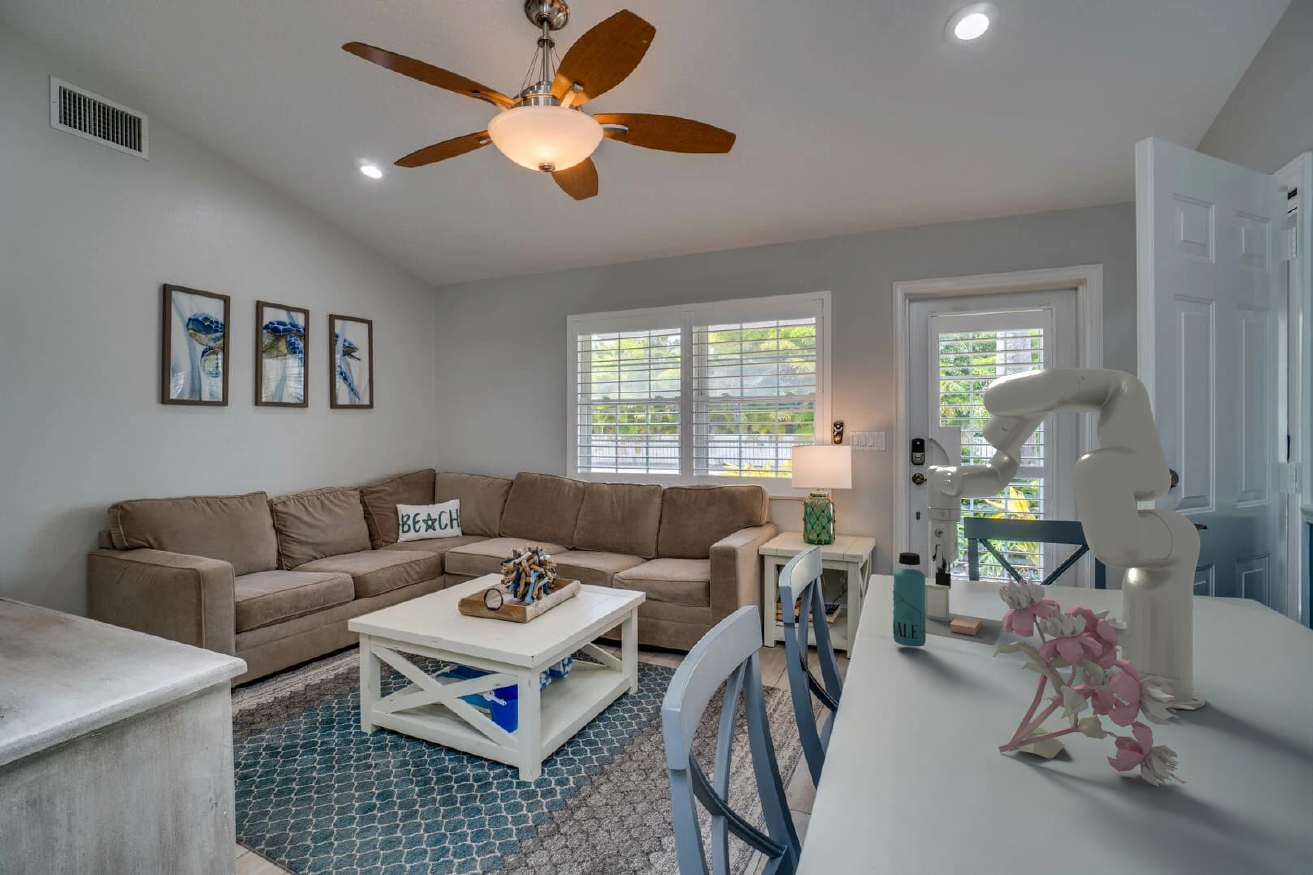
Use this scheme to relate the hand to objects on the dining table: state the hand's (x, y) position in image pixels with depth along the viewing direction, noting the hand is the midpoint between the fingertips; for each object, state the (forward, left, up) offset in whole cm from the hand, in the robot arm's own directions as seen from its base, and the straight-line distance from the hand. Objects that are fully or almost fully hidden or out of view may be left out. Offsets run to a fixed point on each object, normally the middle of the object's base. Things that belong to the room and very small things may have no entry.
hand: (943, 588), depth 154 cm
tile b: (-7, 0, -6) cm, 9 cm away
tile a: (-8, -7, -5) cm, 12 cm away
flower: (-64, -32, -7) cm, 72 cm away
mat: (-10, -4, -6) cm, 12 cm away
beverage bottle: (-31, 0, -7) cm, 32 cm away
